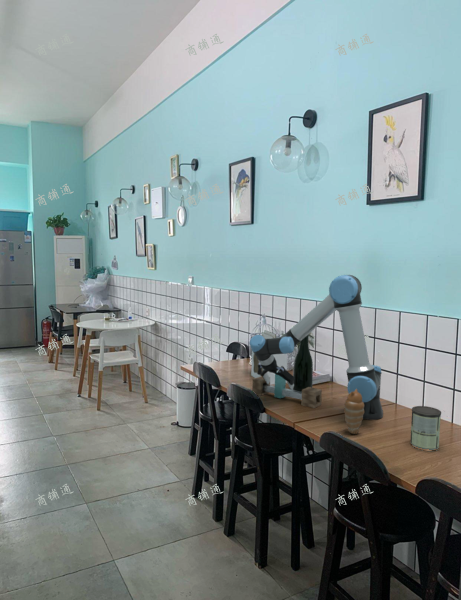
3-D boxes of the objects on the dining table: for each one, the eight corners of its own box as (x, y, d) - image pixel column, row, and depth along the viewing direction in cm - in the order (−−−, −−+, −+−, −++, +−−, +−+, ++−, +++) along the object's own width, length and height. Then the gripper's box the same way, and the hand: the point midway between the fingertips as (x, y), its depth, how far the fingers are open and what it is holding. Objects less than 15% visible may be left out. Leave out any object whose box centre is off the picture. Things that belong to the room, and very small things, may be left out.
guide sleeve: (321, 404, 225) (321, 389, 224) (314, 408, 219) (315, 392, 219) (308, 401, 229) (308, 386, 228) (301, 405, 223) (301, 389, 223)
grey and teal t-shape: (309, 402, 227) (310, 376, 226) (305, 404, 224) (306, 378, 223) (261, 391, 244) (261, 367, 243) (256, 392, 241) (257, 369, 239)
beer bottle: (311, 389, 252) (313, 329, 249) (312, 394, 241) (315, 332, 239) (292, 388, 253) (294, 328, 250) (292, 393, 242) (295, 331, 240)
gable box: (250, 375, 279) (252, 329, 276) (271, 374, 283) (272, 329, 281) (265, 385, 258) (267, 335, 255) (286, 383, 262) (288, 334, 260)
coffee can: (405, 440, 182) (407, 405, 181) (431, 440, 182) (433, 405, 181) (416, 451, 172) (419, 414, 170) (444, 451, 172) (446, 414, 171)
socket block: (269, 392, 244) (270, 377, 243) (260, 396, 236) (260, 380, 236) (261, 390, 247) (262, 375, 246) (252, 394, 239) (252, 379, 239)
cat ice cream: (347, 428, 193) (349, 386, 192) (366, 432, 189) (368, 389, 187) (339, 434, 186) (341, 390, 185) (358, 439, 182) (360, 394, 180)
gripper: (241, 361, 228) (256, 385, 241) (286, 371, 213) (299, 396, 226) (248, 349, 232) (262, 373, 245) (293, 358, 217) (305, 383, 230)
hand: (280, 384), depth 236 cm, fingers open, 13 cm apart
